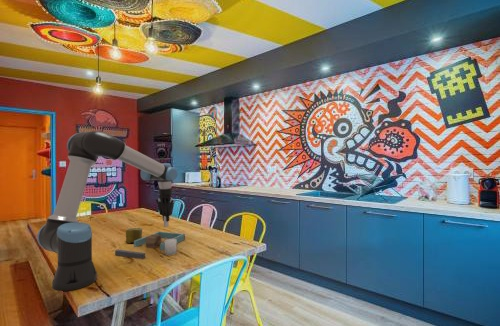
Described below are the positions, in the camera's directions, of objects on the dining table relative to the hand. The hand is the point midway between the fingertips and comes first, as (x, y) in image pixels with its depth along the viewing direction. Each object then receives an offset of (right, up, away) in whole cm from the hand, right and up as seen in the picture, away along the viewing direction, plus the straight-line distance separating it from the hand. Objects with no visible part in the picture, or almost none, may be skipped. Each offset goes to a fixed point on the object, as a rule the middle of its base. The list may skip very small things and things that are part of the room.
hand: (166, 226), depth 166 cm
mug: (-19, -9, 0) cm, 21 cm away
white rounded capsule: (+10, -9, -23) cm, 27 cm away
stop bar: (-10, -9, -27) cm, 31 cm away
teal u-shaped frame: (-2, -9, -5) cm, 10 cm away
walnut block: (-4, -9, -11) cm, 14 cm away
